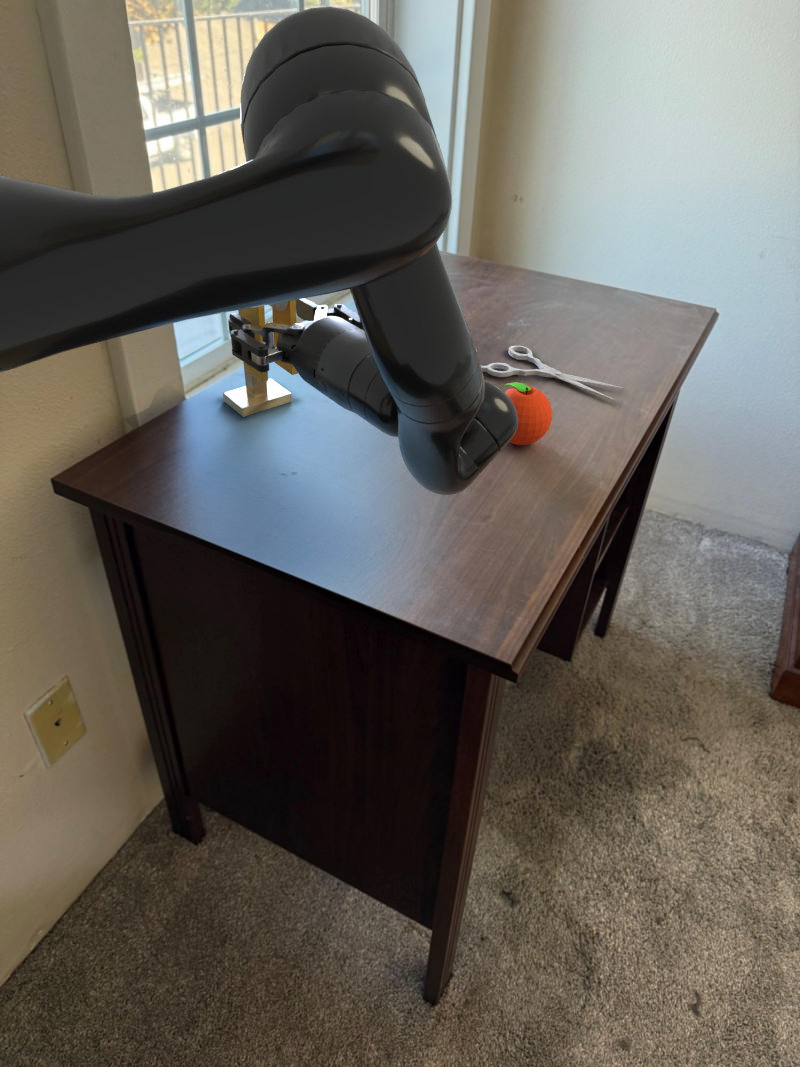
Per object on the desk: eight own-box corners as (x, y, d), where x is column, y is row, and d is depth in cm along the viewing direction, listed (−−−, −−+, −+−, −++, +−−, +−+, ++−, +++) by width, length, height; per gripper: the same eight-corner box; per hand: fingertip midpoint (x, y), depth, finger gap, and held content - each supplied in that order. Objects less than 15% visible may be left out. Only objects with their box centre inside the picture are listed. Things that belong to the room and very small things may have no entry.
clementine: (472, 431, 91) (478, 378, 87) (516, 417, 94) (524, 365, 90) (515, 462, 86) (523, 407, 82) (559, 446, 89) (570, 393, 85)
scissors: (505, 340, 110) (635, 377, 102) (504, 345, 111) (634, 382, 103) (471, 366, 103) (608, 407, 95) (470, 371, 104) (607, 413, 96)
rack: (264, 434, 89) (251, 285, 77) (223, 401, 95) (206, 257, 83) (313, 417, 92) (307, 272, 81) (271, 386, 98) (260, 247, 87)
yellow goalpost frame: (262, 383, 86) (257, 288, 79) (245, 370, 88) (238, 277, 82) (297, 373, 88) (295, 281, 82) (280, 361, 91) (276, 270, 84)
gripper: (406, 315, 76) (317, 268, 86) (286, 348, 69) (204, 293, 78) (403, 382, 81) (319, 330, 90) (291, 419, 73) (213, 359, 83)
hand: (266, 313), depth 84 cm, fingers open, 8 cm apart
